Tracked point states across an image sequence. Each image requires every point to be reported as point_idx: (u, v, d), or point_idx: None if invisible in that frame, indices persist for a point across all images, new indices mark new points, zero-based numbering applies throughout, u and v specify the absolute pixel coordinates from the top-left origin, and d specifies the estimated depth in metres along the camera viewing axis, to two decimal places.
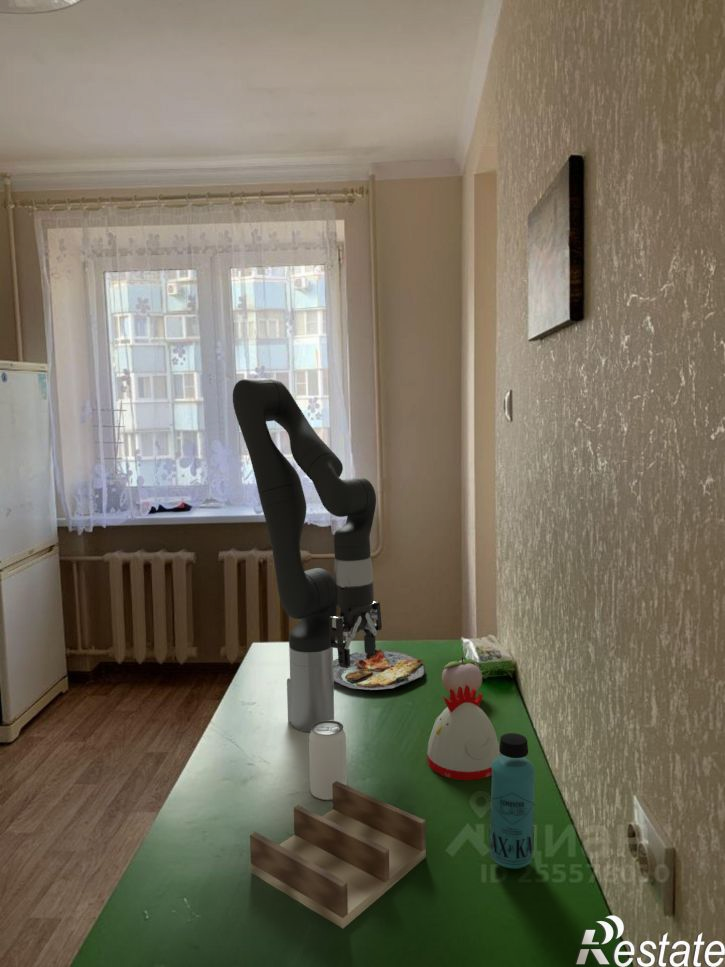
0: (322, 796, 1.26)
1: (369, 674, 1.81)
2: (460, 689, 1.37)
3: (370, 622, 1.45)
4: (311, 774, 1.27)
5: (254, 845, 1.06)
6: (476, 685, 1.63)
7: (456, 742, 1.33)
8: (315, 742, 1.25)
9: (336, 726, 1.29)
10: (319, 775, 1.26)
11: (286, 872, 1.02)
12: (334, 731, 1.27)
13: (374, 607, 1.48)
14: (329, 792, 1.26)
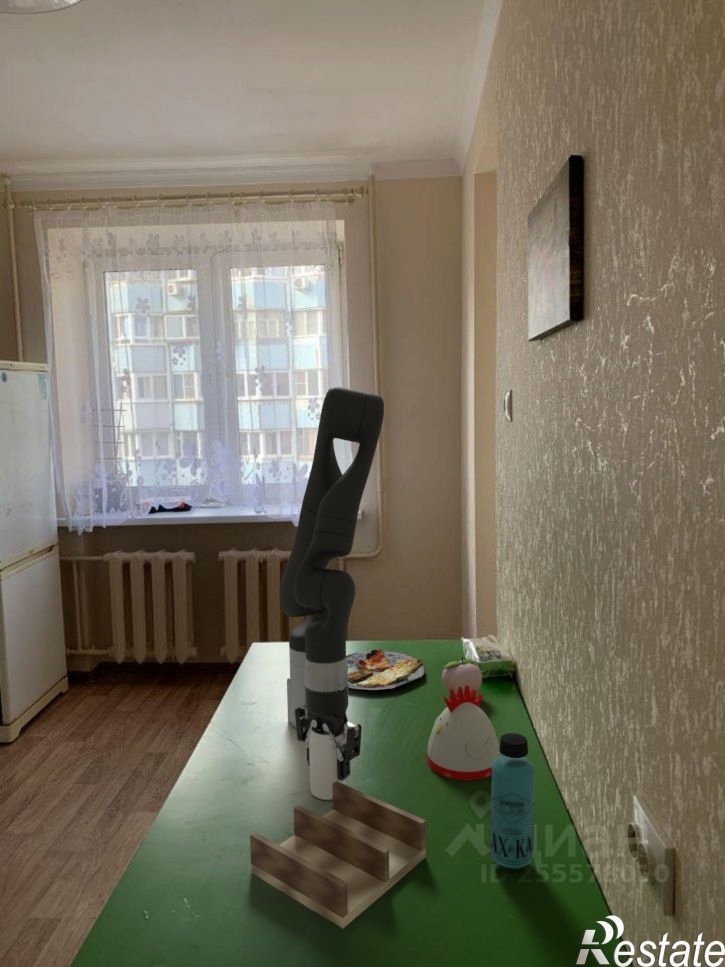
0: (322, 796, 1.26)
1: (369, 674, 1.81)
2: (460, 689, 1.37)
3: None
4: (311, 774, 1.27)
5: (254, 845, 1.06)
6: (476, 685, 1.63)
7: (456, 742, 1.33)
8: (315, 742, 1.25)
9: None
10: (318, 775, 1.26)
11: (286, 872, 1.02)
12: None
13: None
14: (329, 792, 1.26)
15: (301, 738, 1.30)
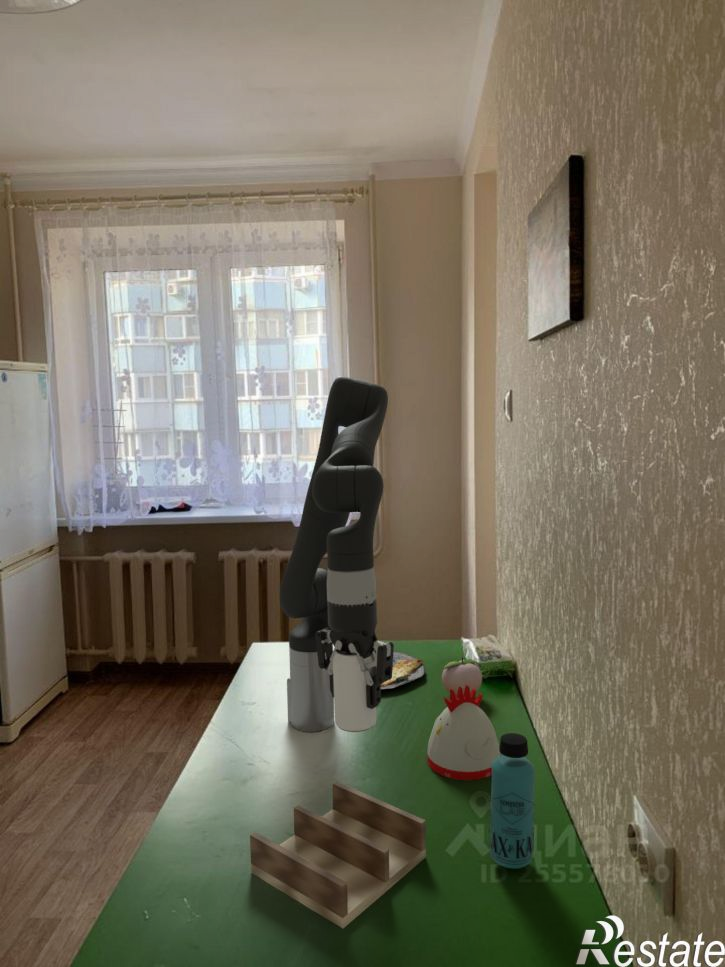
0: (349, 726, 1.10)
1: None
2: (460, 689, 1.37)
3: None
4: (336, 703, 1.11)
5: (254, 845, 1.06)
6: (476, 685, 1.63)
7: (456, 742, 1.33)
8: (340, 665, 1.10)
9: None
10: (345, 702, 1.10)
11: (286, 872, 1.02)
12: None
13: None
14: (357, 722, 1.10)
15: (323, 665, 1.15)
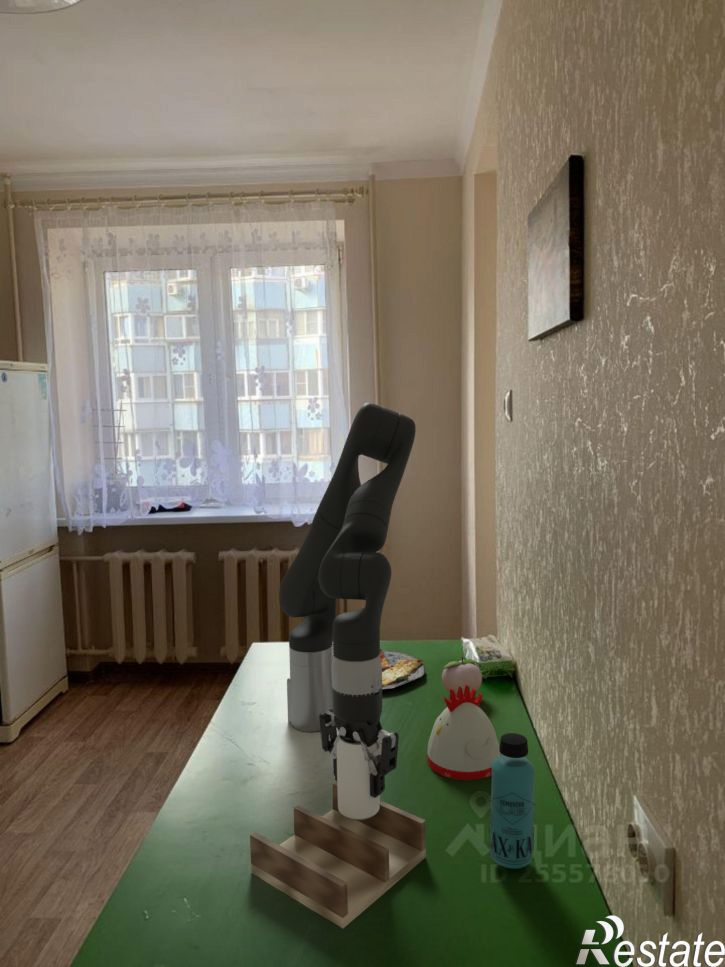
0: (352, 815, 1.08)
1: None
2: (460, 689, 1.37)
3: None
4: (339, 789, 1.10)
5: (254, 845, 1.06)
6: (476, 685, 1.63)
7: (456, 742, 1.33)
8: (344, 753, 1.08)
9: None
10: (348, 790, 1.08)
11: (286, 872, 1.02)
12: None
13: None
14: (360, 810, 1.08)
15: (327, 748, 1.13)
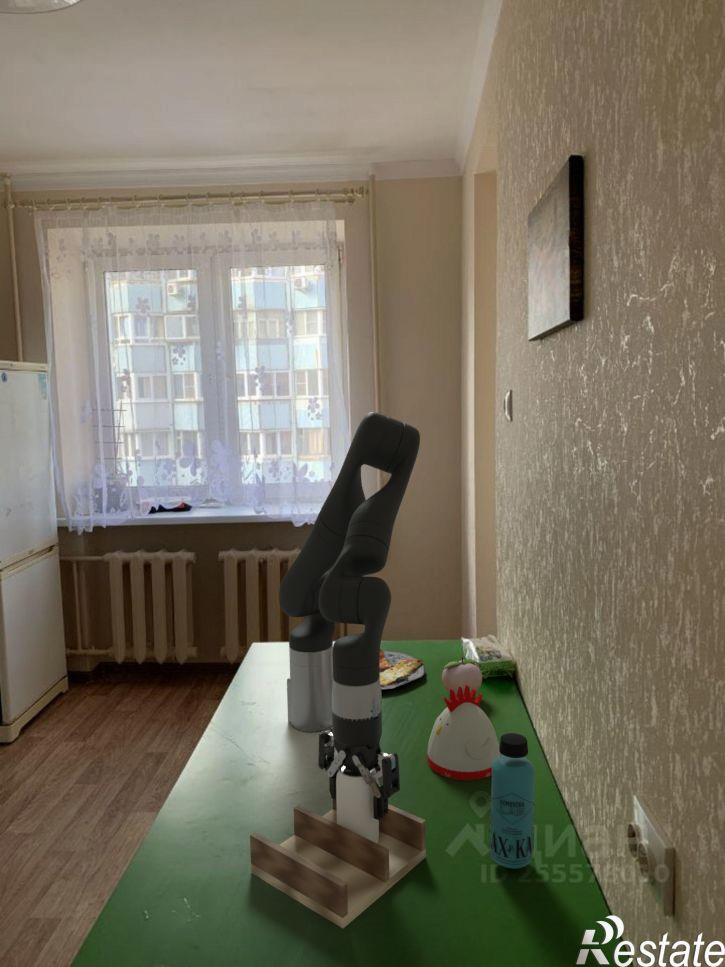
0: None
1: None
2: (460, 689, 1.37)
3: None
4: (339, 821, 1.10)
5: (254, 845, 1.06)
6: (476, 685, 1.63)
7: (456, 742, 1.33)
8: (344, 785, 1.08)
9: None
10: (348, 823, 1.09)
11: (286, 872, 1.02)
12: None
13: None
14: None
15: (323, 766, 1.14)
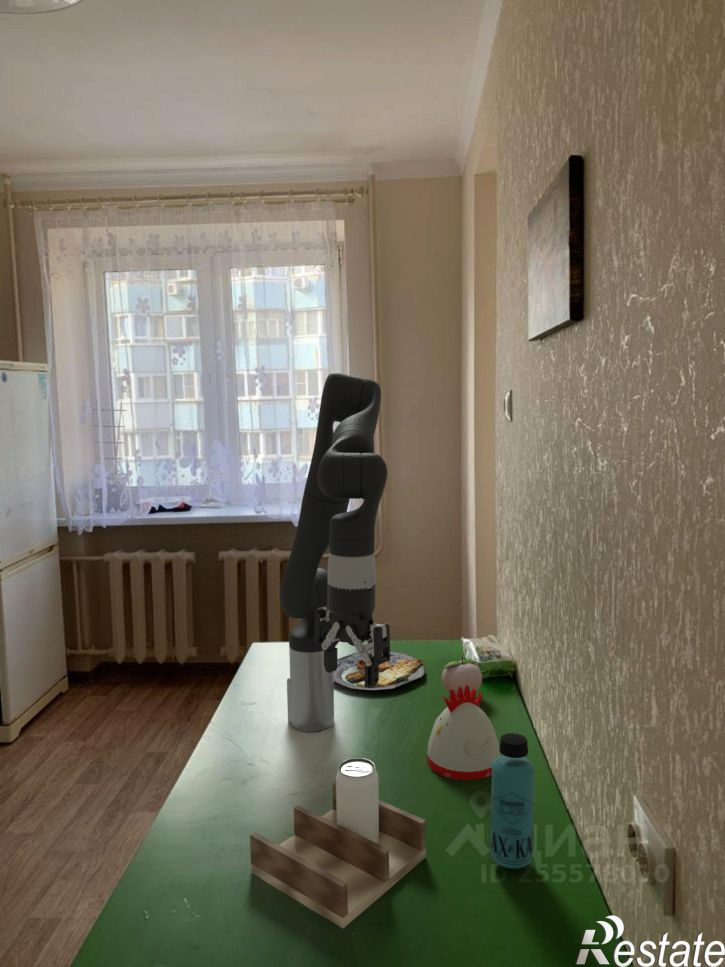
0: None
1: None
2: (460, 689, 1.37)
3: None
4: (338, 821, 1.10)
5: (254, 845, 1.06)
6: (476, 685, 1.63)
7: (456, 742, 1.33)
8: (344, 785, 1.08)
9: (366, 765, 1.12)
10: (348, 823, 1.09)
11: (286, 872, 1.02)
12: (365, 772, 1.10)
13: None
14: None
15: (318, 640, 1.18)
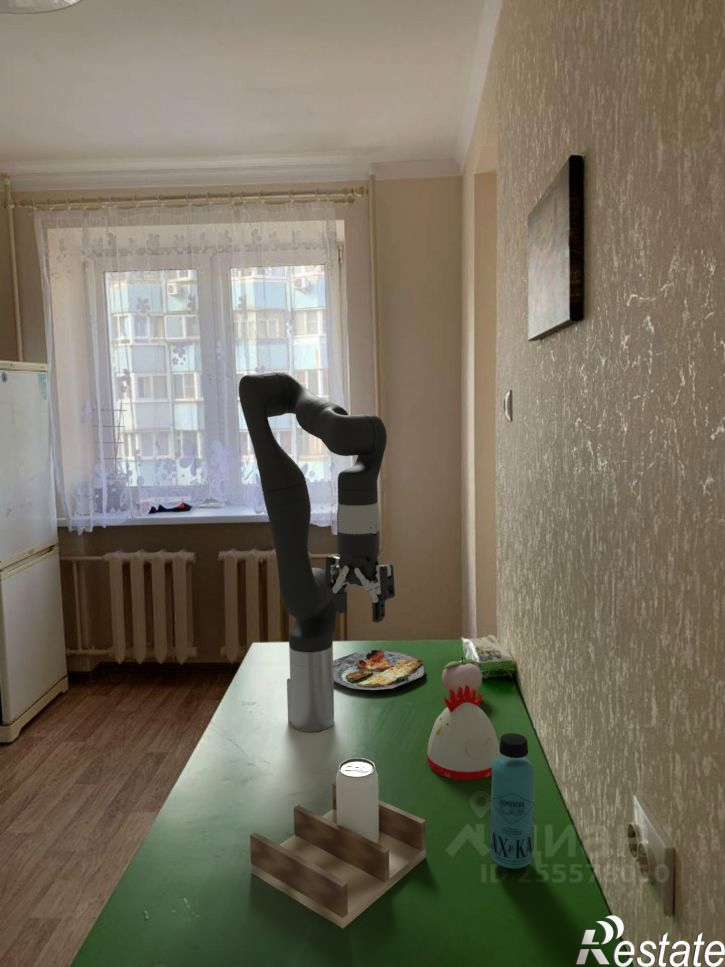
0: None
1: (369, 674, 1.81)
2: (460, 689, 1.37)
3: None
4: (338, 821, 1.10)
5: (254, 845, 1.06)
6: (476, 685, 1.63)
7: (456, 742, 1.33)
8: (344, 785, 1.08)
9: (366, 765, 1.12)
10: (348, 823, 1.09)
11: (286, 872, 1.02)
12: (365, 772, 1.10)
13: None
14: None
15: (329, 585, 1.33)
